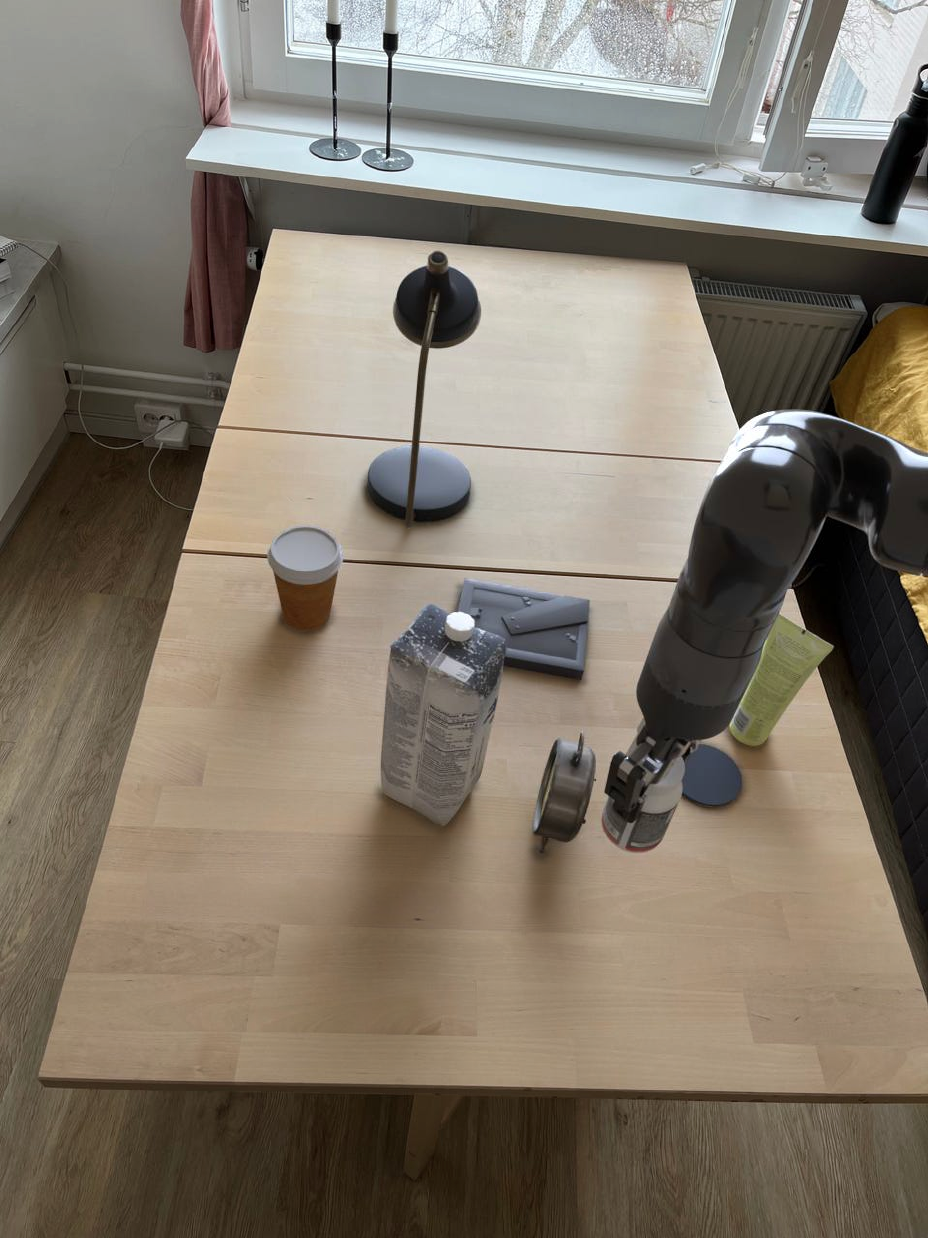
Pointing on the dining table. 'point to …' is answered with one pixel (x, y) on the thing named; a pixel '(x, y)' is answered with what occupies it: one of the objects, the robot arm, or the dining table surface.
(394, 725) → the juice carton
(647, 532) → the dining table surface
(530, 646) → the picture frame
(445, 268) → the lamp
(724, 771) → the coaster
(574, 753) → the alarm clock
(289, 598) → the disposable coffee cup
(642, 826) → the pill bottle
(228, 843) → the dining table surface
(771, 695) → the tube
